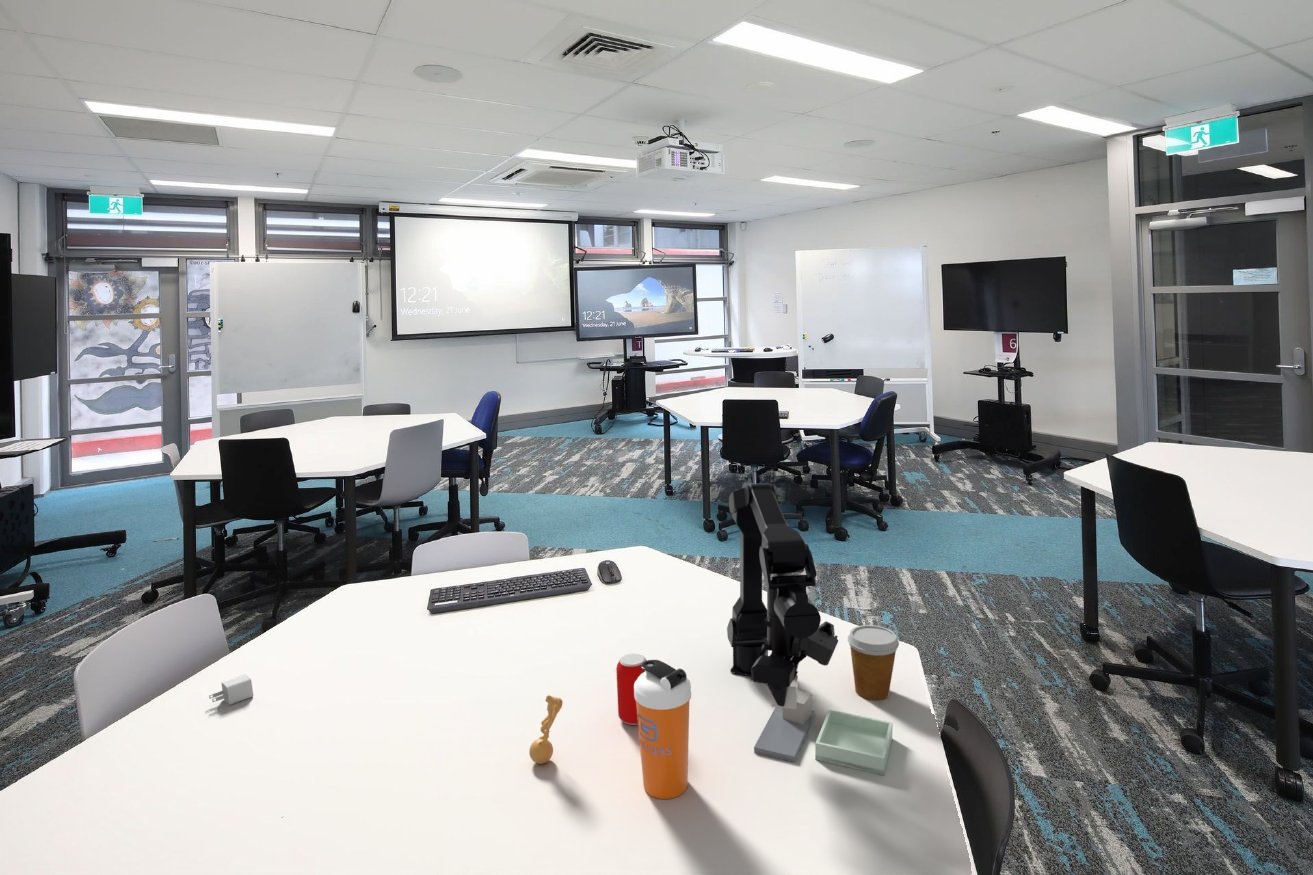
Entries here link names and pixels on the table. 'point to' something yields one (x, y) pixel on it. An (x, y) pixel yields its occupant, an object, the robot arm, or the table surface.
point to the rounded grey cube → (789, 696)
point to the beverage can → (628, 686)
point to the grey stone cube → (800, 709)
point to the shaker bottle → (663, 728)
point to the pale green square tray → (854, 742)
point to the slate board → (782, 736)
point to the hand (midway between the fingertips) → (784, 698)
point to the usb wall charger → (235, 690)
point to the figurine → (545, 733)
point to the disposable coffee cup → (872, 660)
